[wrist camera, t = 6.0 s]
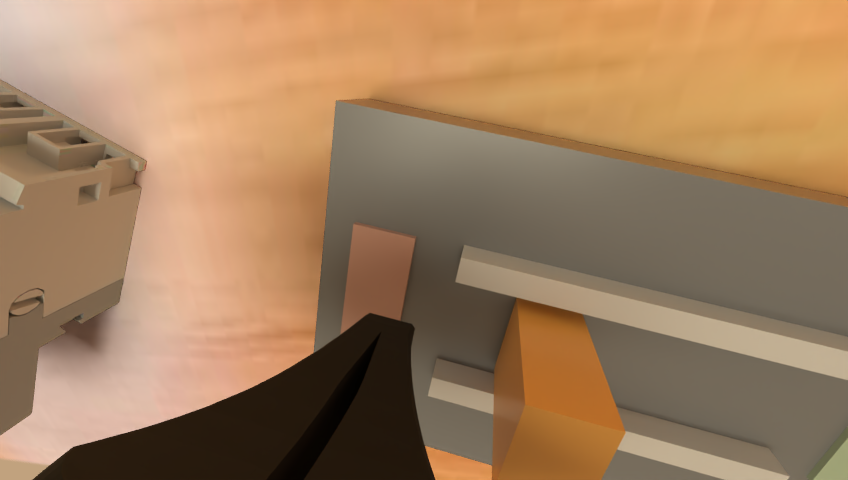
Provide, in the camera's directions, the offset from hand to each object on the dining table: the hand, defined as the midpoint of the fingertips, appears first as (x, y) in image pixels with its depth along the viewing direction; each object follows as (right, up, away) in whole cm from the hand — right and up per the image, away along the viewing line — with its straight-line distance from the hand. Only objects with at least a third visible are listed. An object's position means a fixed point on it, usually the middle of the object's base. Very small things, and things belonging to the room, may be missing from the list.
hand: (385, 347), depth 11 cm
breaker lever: (+5, 0, +2) cm, 5 cm away
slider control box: (+8, 0, +4) cm, 9 cm away
